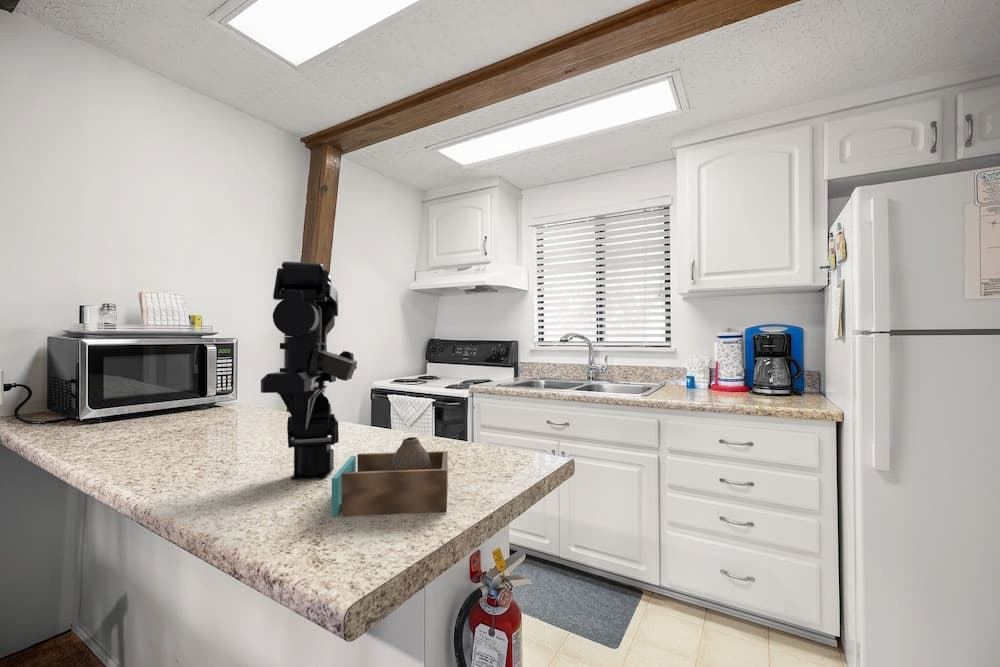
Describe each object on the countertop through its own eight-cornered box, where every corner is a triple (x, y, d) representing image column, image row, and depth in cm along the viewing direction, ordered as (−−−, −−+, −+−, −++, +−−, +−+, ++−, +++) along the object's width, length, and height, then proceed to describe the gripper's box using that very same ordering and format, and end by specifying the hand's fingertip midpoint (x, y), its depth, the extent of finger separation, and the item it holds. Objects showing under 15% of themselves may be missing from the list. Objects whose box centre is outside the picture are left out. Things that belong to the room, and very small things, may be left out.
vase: (427, 498, 71) (427, 443, 71) (384, 497, 71) (384, 443, 71) (434, 483, 77) (434, 434, 78) (395, 483, 78) (395, 434, 78)
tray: (331, 516, 66) (331, 478, 66) (351, 487, 79) (351, 455, 79) (437, 511, 68) (437, 474, 68) (439, 484, 81) (439, 453, 81)
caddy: (341, 516, 67) (341, 473, 67) (358, 489, 79) (358, 453, 79) (446, 511, 69) (446, 470, 69) (447, 486, 81) (447, 451, 81)
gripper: (338, 336, 65) (337, 441, 65) (363, 337, 84) (363, 419, 83) (259, 336, 64) (258, 443, 64) (303, 337, 82) (302, 420, 82)
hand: (302, 429), depth 73 cm, fingers closed
